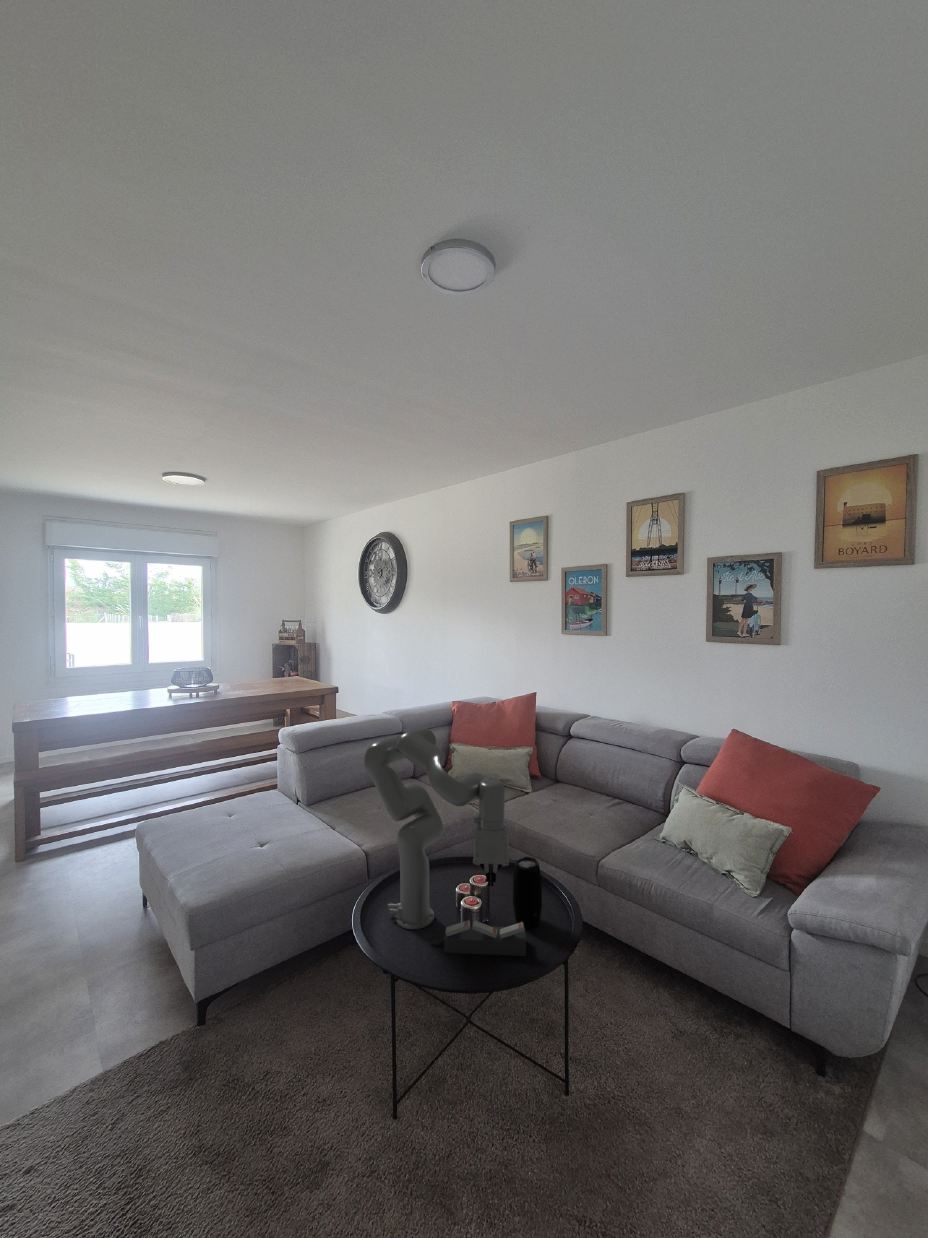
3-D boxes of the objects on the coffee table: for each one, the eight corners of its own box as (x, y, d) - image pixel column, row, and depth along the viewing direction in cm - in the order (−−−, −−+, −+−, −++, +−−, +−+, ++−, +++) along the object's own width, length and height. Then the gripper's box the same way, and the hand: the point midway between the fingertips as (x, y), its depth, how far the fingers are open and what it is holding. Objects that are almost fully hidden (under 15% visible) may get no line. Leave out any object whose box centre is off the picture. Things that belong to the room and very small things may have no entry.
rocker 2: (472, 929, 147) (474, 925, 147) (473, 924, 150) (474, 920, 150) (495, 938, 147) (497, 934, 147) (495, 933, 149) (497, 929, 149)
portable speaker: (544, 929, 158) (544, 867, 158) (515, 931, 157) (514, 869, 157) (538, 914, 167) (538, 855, 167) (510, 915, 166) (510, 856, 166)
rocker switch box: (430, 952, 148) (430, 934, 148) (433, 937, 155) (433, 920, 155) (526, 956, 146) (525, 938, 146) (524, 940, 153) (524, 923, 153)
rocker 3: (501, 938, 147) (499, 934, 147) (501, 933, 149) (499, 929, 149) (524, 931, 146) (522, 926, 146) (523, 925, 149) (522, 921, 149)
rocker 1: (447, 936, 148) (445, 932, 148) (447, 931, 151) (446, 927, 151) (469, 929, 147) (468, 925, 147) (470, 923, 150) (468, 919, 150)
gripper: (465, 827, 145) (465, 890, 145) (517, 828, 144) (516, 892, 145) (466, 816, 153) (466, 876, 153) (516, 818, 152) (515, 878, 152)
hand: (490, 884), depth 149 cm, fingers closed
